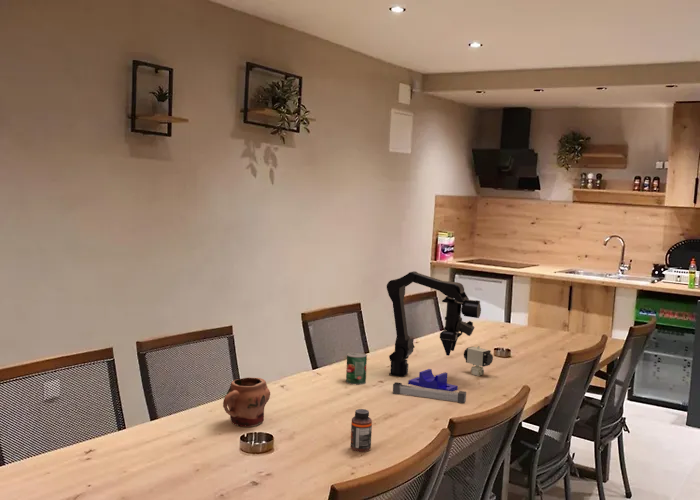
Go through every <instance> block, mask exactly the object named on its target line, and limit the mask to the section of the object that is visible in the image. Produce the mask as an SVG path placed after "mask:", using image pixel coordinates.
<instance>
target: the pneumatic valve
mask: <svg viewBox="0 0 700 500" xmlns="http://www.w3.org/2000/svg"><path fill="white" fill-rule="evenodd" d="M463 358H464V359H465V363H466V364H471V365H472V366H471V368H470V372H471V373H470V374H471V375H473V376H477V377H480V376H482V375H484V374H485V370H484V368H485V367H488V366H490V365H491V364H493V363H492V362H493V360H494V355H493V354H492V353H491V350H490V349H485V348H481V347H480V346H477V347H476V346H470V347H467V348H465V350H464V351H463Z"/></svg>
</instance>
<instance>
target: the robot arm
mask: <svg viewBox="0 0 700 500" xmlns="http://www.w3.org/2000/svg"><path fill="white" fill-rule="evenodd" d="M413 283H414V284H418V285H421V286H424V287H427V288H430V289H432V290H433V289H434V290H436V291H439V292H440V293H441V294H443V295H445V298H443V299H442V300H441V302H442V303H446V311H445V312H446V313H445V316H444V320H445V324H444V325H445V326H444V328H443V330H442V331H441V332H440V333H439V339H440V341H441V344H442V346H443V349H444V352H445V355H446V356H447V357H449V356H450V355H451V352H454V351H455V348H456V345H457V342H458V338H459V337H461V336H462V335H463V333H464V334H466V335H467V336H469V337H470V336H471V335H472V334H473V332H474V330H475V326H474V322H472V321H471V320H469V321H467V322H466V321H463V318H462V316H461V315H463V317H469V318H474V319H479V318H480V317H481V313H482V307H481V306H482V305H481V301H480V300H473V299H469V297H468V295H467V294H466V292H465V287H464V285H463V284H462V283H460V282H455V281H446V280H442V279H438V278H435V277H432V276H429V275H426V274H422V273H419V272H417V271H410V272H408V273H407V274H405V275H403V276H401V277H400V278H395V279H391V280H389V281H388V282H387V284H386V290H387V291H386V292H387V294H388V297H389V298H390V300H391V302H392V310H393V316H394V325H395V332H396V333H395V334H396V338H395V342H394V350H393V352H392V353H390V354H389V355H388V358H389V361H390V372H389V373H388V375H389V376H394V377H401V378H402V377H406V376H407V375H408V374H409V363H408V359H409V356H410V355H412V354H413V352H414V349H415V347H416V346H415V345H414V338H413V337H410V336H409V333H408V326H407V325H408V324H407V317H406V311H405V310H406V309H405V302H404V301H405V300H404V299H405V294H406V287H407V286H410V285H411V284H413Z"/></svg>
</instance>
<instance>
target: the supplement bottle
mask: <svg viewBox="0 0 700 500" xmlns="http://www.w3.org/2000/svg"><path fill="white" fill-rule="evenodd" d="M350 426H351V427H350V430H351V431H350V449H351V450H352V451H355V452H358V451H359V453H363V452H365V453H366V452H368V451H370V450H371V449H372V448H371V447H372V434H373V433H372V429H373V420H372V418H371V417H370V411H369V410H368V409H366V408H365V409H364V408H358V409H355V411H354V416H353V417H352V418H351V425H350Z"/></svg>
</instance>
